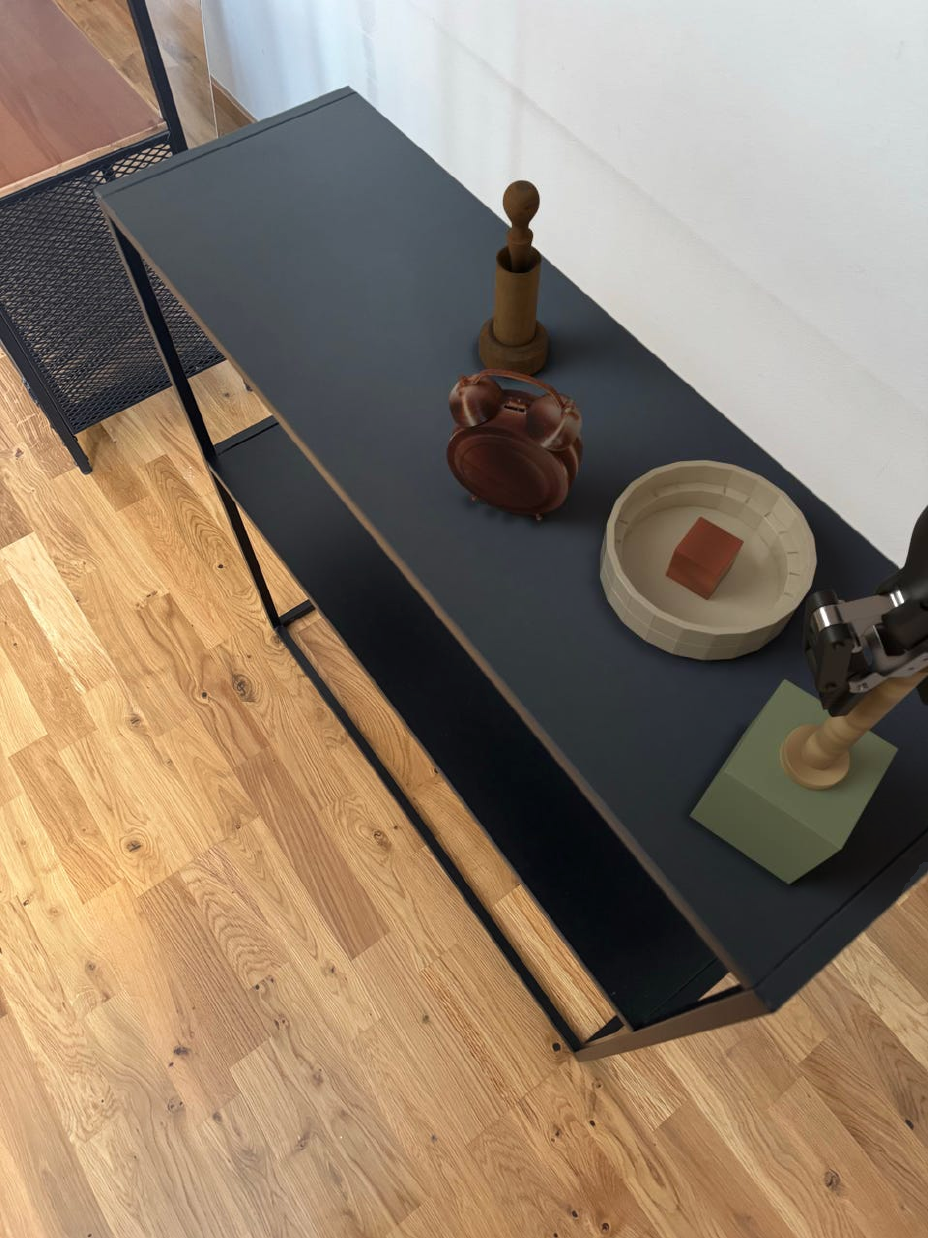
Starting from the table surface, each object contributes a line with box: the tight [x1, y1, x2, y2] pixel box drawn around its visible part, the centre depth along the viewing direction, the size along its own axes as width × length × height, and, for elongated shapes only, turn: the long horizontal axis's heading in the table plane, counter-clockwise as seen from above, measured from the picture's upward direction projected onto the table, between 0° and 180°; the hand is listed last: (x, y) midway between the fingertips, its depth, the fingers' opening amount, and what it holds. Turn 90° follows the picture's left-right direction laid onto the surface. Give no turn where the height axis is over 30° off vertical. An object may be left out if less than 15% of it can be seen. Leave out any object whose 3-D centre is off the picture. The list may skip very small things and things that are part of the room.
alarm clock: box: [445, 368, 584, 521], centre depth 71 cm, size 11×5×15 cm, turn 69°
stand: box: [689, 678, 899, 885], centre depth 60 cm, size 8×8×10 cm
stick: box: [780, 650, 928, 790], centre depth 49 cm, size 4×4×15 cm
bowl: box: [599, 459, 818, 661], centre depth 71 cm, size 16×16×5 cm
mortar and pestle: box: [478, 179, 549, 376], centre depth 78 cm, size 7×6×18 cm
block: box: [666, 517, 744, 600], centre depth 71 cm, size 4×4×4 cm
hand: (878, 693), depth 46 cm, fingers open, 4 cm apart
